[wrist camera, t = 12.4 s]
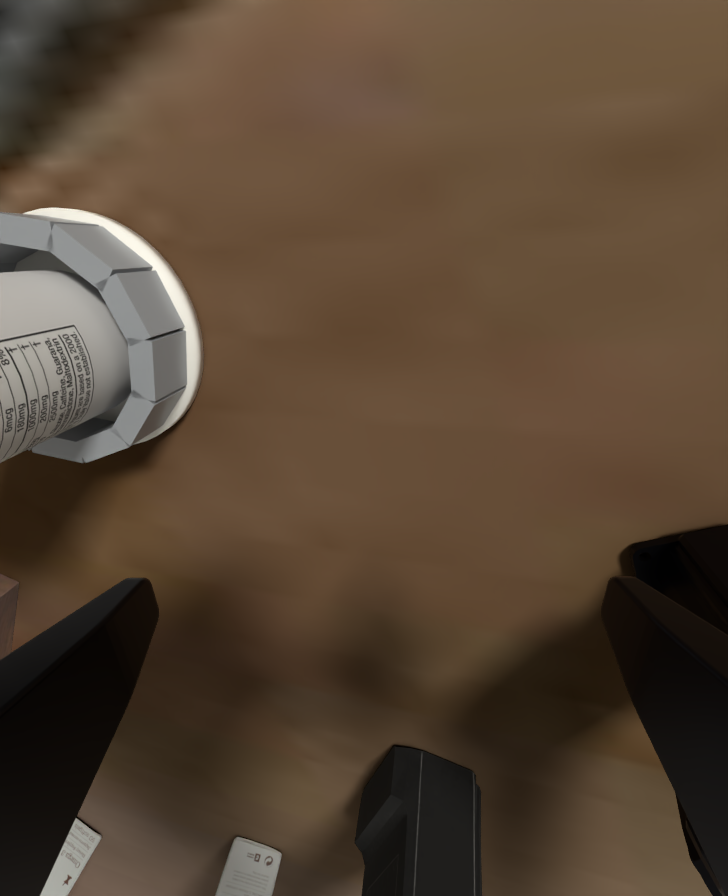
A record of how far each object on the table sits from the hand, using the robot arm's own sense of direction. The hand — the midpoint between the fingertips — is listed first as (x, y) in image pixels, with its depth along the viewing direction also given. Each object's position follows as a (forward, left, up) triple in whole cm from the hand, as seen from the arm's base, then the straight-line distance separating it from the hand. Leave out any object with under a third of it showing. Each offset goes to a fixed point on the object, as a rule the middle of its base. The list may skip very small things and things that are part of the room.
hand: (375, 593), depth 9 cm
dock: (+8, +13, -12) cm, 19 cm away
